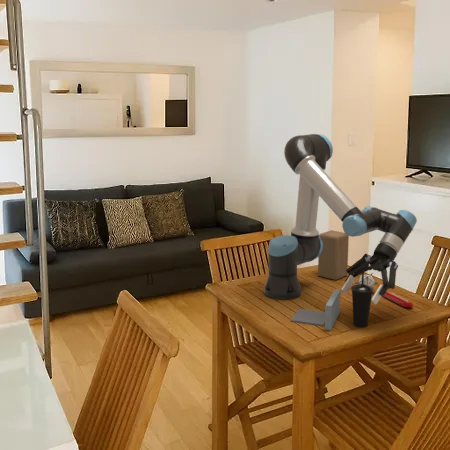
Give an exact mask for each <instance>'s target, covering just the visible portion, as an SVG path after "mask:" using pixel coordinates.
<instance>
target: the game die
mask: <svg viewBox="0 0 450 450" xmlns="http://www.w3.org/2000/svg"><path fill="white" fill-rule="evenodd" d="M361 283H362V274H360V275H359V277H358V279H357V282H354V285H357V284H361ZM363 284H366V285H369V286H371V287H373V289H374V288H375V285H377V284H378V282H376V280H375V279H374V277H373V272H371V274H364V283H363ZM373 294H374V291H372V295H373Z"/></svg>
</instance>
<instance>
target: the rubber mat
mask: <svg viewBox="0 0 450 450" xmlns="http://www.w3.org/2000/svg"><path fill="white" fill-rule="evenodd" d="M290 322H291V323H292V322H293V323H298V324H304V325H312V326H321V327H325V311H320V310H313V309H306V308H298V310H297V311H296V312H295V313H294V315H293V316H292V318H291V319H290Z"/></svg>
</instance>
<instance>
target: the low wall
mask: <svg viewBox="0 0 450 450" xmlns="http://www.w3.org/2000/svg"><path fill="white" fill-rule="evenodd" d="M341 292H342V290H341V289H338V288H337V289H336V288H335V289H334V290H333V292H332V294H331V295H330V297H329V299H328V300H327V301H326V304H325V308H324V309H325V310H324V312H325V325H324V330H325V331H332V329H333V326H334V325H335V322H336V321H337V319H338V316H339V314H340V313H341Z"/></svg>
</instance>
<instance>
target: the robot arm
mask: <svg viewBox="0 0 450 450" xmlns="http://www.w3.org/2000/svg"><path fill="white" fill-rule="evenodd" d="M333 152H334V149H333V143H332V142H331V140H330V139H329V138H328V137H327V136H325V135H324V134H320V133H319V134H318V133H310V134H304V135H303V134H302V135H301V134H300V135H295V136H293V137H291V138H290V139H288V140H287V142H286V143H285V147H284V152H283V153H284V158H285V162H286V163H287V165H288V166H289V168H290V169H291V170H292V171H293V172H294V174H295V175H299V181H298V192H297V194H298V195H297V202H296V215H295V225H294V227H293V228H292V229H291V232H290V235H288V234H286V235H285V234H284V235H279V236H275V237H273V238H271V239H270V241H269V242H268V243H269V244H268V248H267V252H268V276H267V279H266V282H265V285H264V288H263V290H264V291H263V294H264V295H265V296H266V297H268V298H271V299H276V300H292V299H296V298H299V297H300V296H301V294H302V287H301V284H300V282H299V277H298V266H300V265H302V264H303V265H304V264H305V263H310V262H312V261H314V260H316V259H317V258H318V257H319V256H320V254H321V252H322V249H323V243H322V240H321V238H320V236H319V234H320V232H319V231H318V229H317V221H318V219H317V218H318V210H319V198H320V199H321V200H322V201H323V202H324V203H325V204H326V205H327V206H328V208H329V209H330V210H331V211H332V212H333V213H334V214H335V215H336V216H337V218H338V219H340V220H341V222H342V230H343V232H344V233H346V234H347V235H348V236H349V237H352V238H353V237H359V236H362V235H365V234H367V233H371V232H373V231H380V232H383V233H384V234H383V236H381V238H380V240H379V243H378V244H377V245H376V247H375V249H374V251H373V253H372V255H369V254H368V253H364V254H363V256H362V257H361V258H359V259H358V260H357V261H355V263H353V264H352V265H350V266H349V267H348V268H347V270H346V272H347V276H346V278H345V280H344V284H343V286H342V287H341V288H340V290H341V292H343V293H344V294H346V295H347V293H348V292H349V290H350V289H351V287H352V286H353V284H354V283H355V281H356V278H357V277H358V276H360V274H362V270H364V273H366V272H368V271H372V270H373V271H377V272H380V275H381V280H382V284H379V287H378V288H377V290H376V291H375V292H374V293H373V294H374V295H372V298H371V303H373V304H374V305H378V303H379V301H380V299H381V298H382V297H384V294H385V293H386V291H388V290H389V289H392V290H394V289H395V288H396V279H397V278H396V276H397V270H398V267H399V265H398V263H397V262H396V261H395V259H396V257H397V256H398V254H399V252H400V251H401V249H402V247H403V245H404V244H405V242H406V241H407V240H408V237H409V236H410V234H412V231H414V228H415V225H416V224H417V222H418V220H417V217H416V215H415V214H414V213H413V212H410V210H406V209H400V210H398V211H397V213H392V212H388V211H386V210H384V209H380V208H378V207H375V206H374V207H373V206H365V207H364V208H363V209H362V210H361V209H359V207H358V206H356V204H355V203H354V202H353V201H352V199H350V197H349V196H347V194H346V193H345V192H344V191H343V190H342V188H340V186H339V185H338V184H337V183H336V182H335V181H334V180H333V179H332V178H331V177H330V176H329V174H328V173H327V172H326V171H325V170H326V167H327V162H328V161H330V159H331V158H332V157H333ZM388 268H389V272H388V271H387V269H388ZM388 273H389V274H388ZM388 275H389V276H388Z"/></svg>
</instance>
